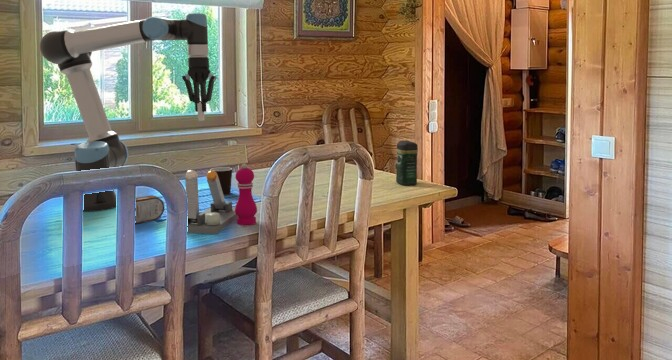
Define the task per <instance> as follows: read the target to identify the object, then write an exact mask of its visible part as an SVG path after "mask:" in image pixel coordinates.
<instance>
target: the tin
mask: <svg viewBox="0 0 672 360" xmlns="http://www.w3.org/2000/svg"><path fill="white" fill-rule="evenodd" d="M135 198H136V208H135V211H136V216H135V221H136V223H137V224H140V223H141V224H142V223H147V222H151V221H152V222H153V221H156V219H157V220H159V219H160V218H161V217H162V215H163V214H164V212H165V203H164V201H163V200H162V199H161V198H160V197H158V196H156V195H146V196H141V197H140V196H139V197H135Z"/></svg>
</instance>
